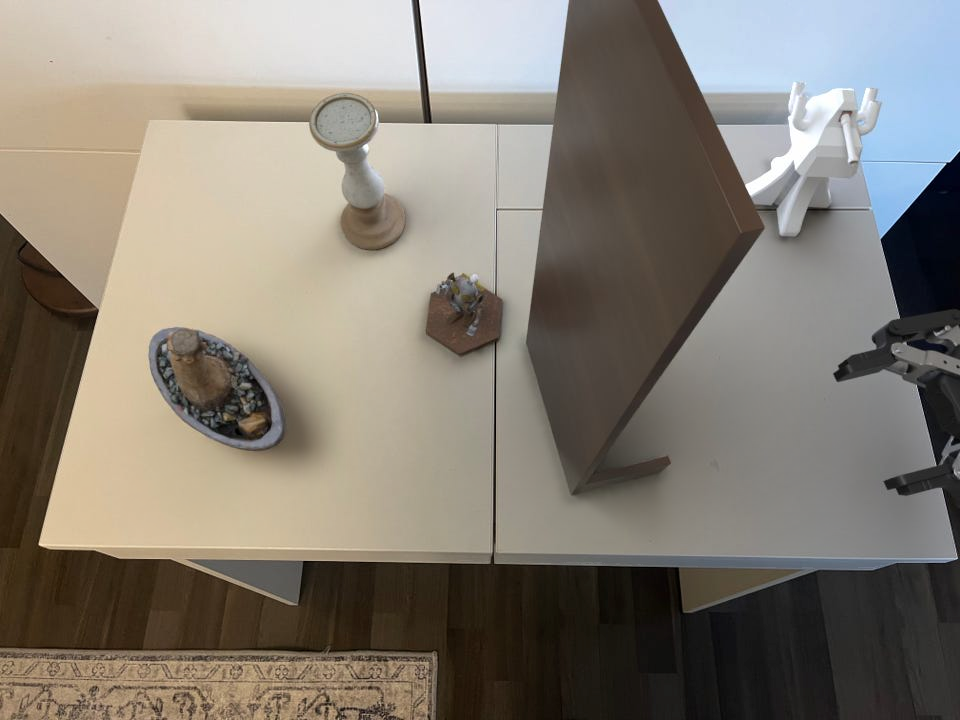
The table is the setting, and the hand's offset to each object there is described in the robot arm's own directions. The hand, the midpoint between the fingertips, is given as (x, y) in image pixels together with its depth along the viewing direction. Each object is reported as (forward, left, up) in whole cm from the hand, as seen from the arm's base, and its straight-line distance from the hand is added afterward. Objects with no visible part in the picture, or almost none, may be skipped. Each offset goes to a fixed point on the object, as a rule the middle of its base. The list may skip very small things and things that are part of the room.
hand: (864, 427), depth 48 cm
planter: (+59, -5, -30) cm, 67 cm away
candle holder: (+47, -33, -30) cm, 65 cm away
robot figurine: (+33, -20, -30) cm, 49 cm away
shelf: (+16, -10, -30) cm, 35 cm away
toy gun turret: (-9, -42, -30) cm, 52 cm away
